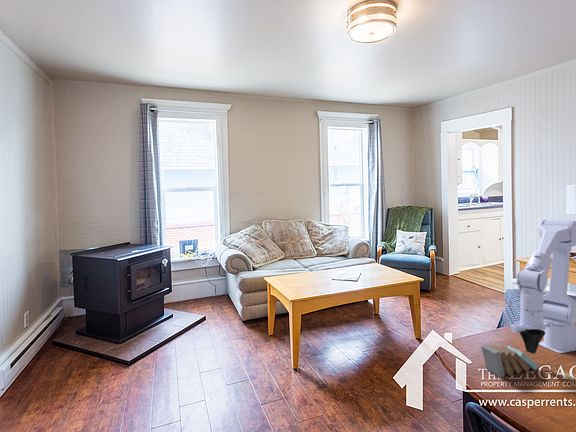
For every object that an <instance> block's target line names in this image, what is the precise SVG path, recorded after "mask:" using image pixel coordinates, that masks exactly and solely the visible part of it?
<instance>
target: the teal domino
mask: <svg viewBox="0 0 576 432" xmlns="http://www.w3.org/2000/svg"><path fill="white" fill-rule="evenodd" d="M506 348H508V349H510V350H512V351H514V352H516V353H517V354H518V355H519V356H520V357H521V358H522V360H523V361H524V362H525V363H526V364H527V365H528V366H529V367H530V369H532V370H534V371H537V369H538V367H539V365H538V364H537V363H536V362H535V361H533V360H532V358H530V357H529V356H528V355H527V354H526V353H524V352H523V351H521V350H519V349H516V348H514V347H512V346H511V345H507V347H506Z"/></svg>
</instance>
